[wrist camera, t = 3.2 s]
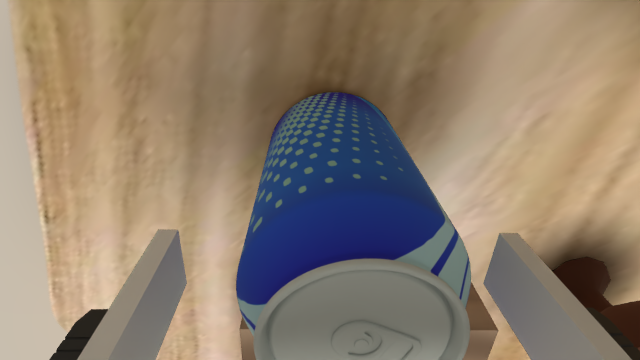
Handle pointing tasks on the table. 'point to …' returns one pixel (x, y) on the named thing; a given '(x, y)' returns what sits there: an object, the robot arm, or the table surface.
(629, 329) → the ice cream bowl
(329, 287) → the beer can
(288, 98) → the table surface
